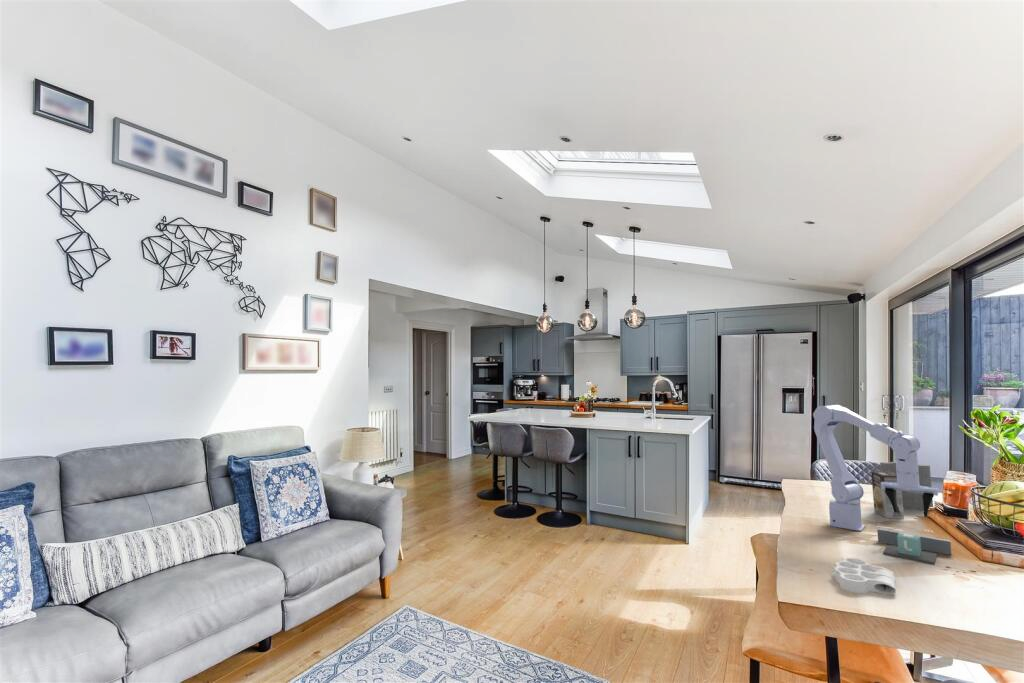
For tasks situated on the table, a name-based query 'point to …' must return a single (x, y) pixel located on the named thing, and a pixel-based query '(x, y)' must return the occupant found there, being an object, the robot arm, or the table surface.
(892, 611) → the table surface
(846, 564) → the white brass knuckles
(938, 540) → the panel
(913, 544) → the letter cube
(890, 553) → the mat
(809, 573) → the table surface
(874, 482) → the coffee box
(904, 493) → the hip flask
